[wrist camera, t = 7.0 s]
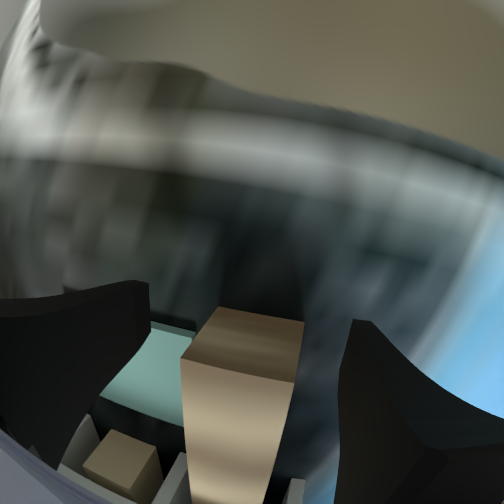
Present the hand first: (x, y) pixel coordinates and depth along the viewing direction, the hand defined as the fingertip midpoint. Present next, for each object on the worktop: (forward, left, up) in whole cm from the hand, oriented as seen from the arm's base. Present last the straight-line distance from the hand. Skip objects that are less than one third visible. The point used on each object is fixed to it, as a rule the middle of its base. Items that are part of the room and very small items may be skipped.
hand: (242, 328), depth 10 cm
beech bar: (-7, 0, -4) cm, 8 cm away
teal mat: (-6, +8, -3) cm, 10 cm away
